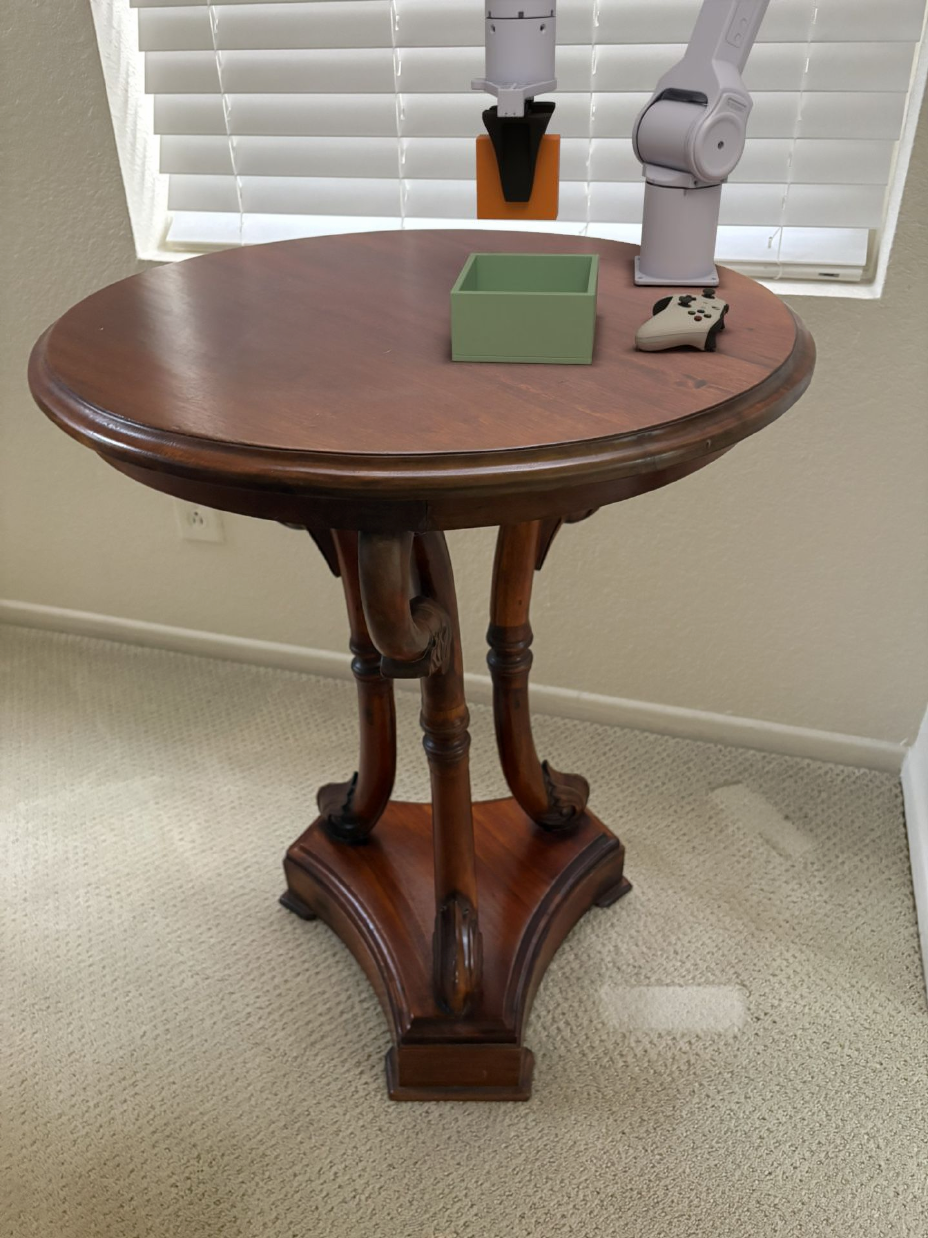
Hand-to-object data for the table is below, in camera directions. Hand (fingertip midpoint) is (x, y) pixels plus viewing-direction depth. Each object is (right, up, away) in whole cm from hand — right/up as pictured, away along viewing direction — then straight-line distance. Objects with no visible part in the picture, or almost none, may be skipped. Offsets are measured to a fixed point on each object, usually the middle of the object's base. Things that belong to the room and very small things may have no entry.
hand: (519, 197), depth 88 cm
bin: (+1, -13, -2) cm, 13 cm away
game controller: (+14, -13, -3) cm, 19 cm away
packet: (0, -1, +1) cm, 2 cm away
